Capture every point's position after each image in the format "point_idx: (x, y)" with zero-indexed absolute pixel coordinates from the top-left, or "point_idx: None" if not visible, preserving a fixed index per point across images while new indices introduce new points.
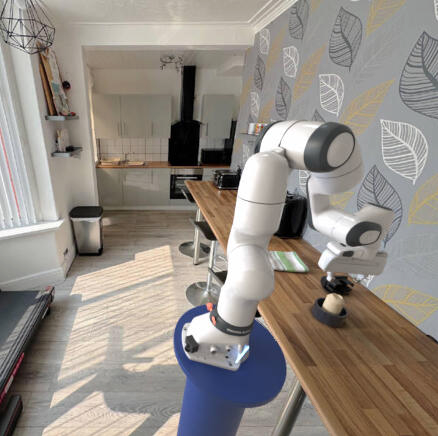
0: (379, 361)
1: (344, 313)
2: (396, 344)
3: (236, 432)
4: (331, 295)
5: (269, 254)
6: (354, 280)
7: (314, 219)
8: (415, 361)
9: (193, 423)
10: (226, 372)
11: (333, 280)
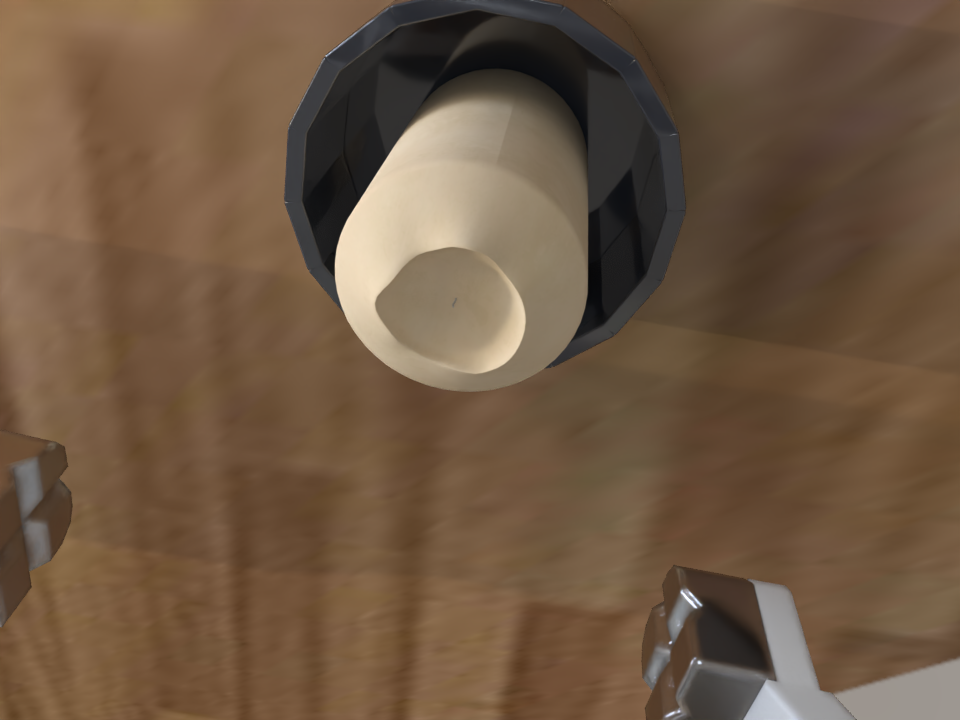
0: (537, 583)
1: (626, 272)
2: (883, 518)
3: None
4: (373, 271)
5: None
6: (668, 628)
7: None
8: (830, 628)
9: None
10: None
11: (28, 560)
